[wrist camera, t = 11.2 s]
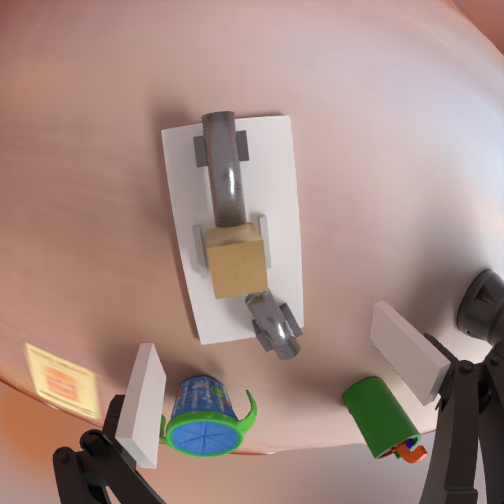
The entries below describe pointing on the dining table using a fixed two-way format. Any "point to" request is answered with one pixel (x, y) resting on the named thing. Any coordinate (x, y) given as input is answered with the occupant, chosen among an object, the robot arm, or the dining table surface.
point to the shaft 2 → (274, 324)
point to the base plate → (257, 212)
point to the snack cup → (205, 420)
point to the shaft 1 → (223, 166)
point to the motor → (383, 421)
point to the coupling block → (236, 260)
